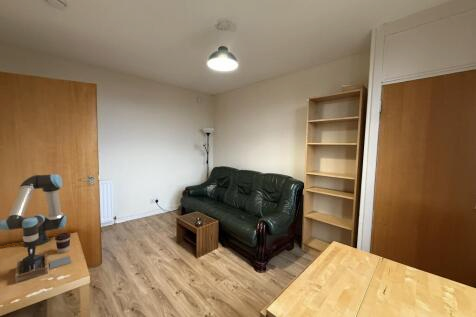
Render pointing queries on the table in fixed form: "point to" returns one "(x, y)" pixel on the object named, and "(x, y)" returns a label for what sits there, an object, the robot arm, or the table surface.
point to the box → (36, 260)
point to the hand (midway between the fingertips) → (32, 269)
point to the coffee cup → (63, 242)
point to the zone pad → (60, 262)
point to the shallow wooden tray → (30, 274)
